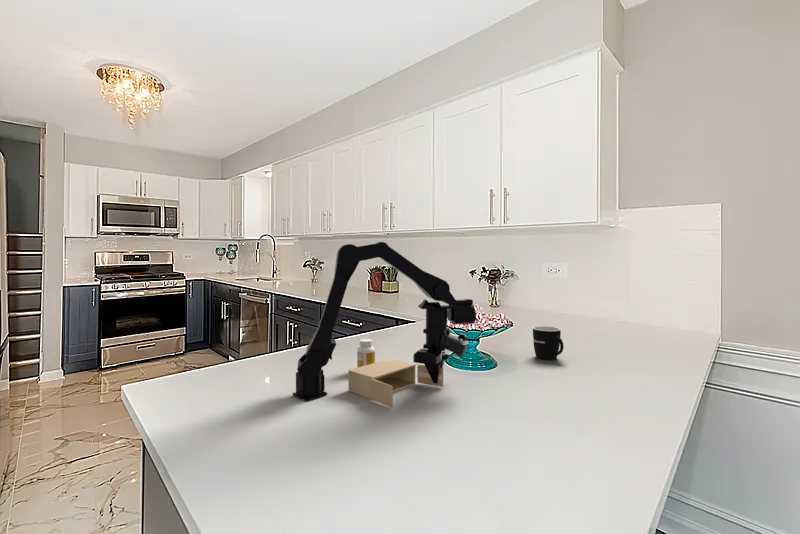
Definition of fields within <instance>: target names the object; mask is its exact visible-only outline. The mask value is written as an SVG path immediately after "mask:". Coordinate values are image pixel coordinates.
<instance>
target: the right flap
mask: <svg viewBox="0 0 800 534" xmlns="http://www.w3.org/2000/svg"><path fill="white" fill-rule="evenodd" d="M416 366H417V367H416V368H417V371H416V373H417V376H416V377H417V383H418V384H422V385H429V386H435V387H441V388H442V387H444V367H443V368H440V371H439V378H438V383H433V381H432V379H431V377H430V374H429V372H428V370H427V368H426V366H425V364H420V363H417V365H416ZM417 383H416V384H417Z"/></svg>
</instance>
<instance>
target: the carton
mask: <svg viewBox="0 0 800 534" xmlns="http://www.w3.org/2000/svg"><path fill="white" fill-rule="evenodd" d="M416 366H417V365H416V363H415V364H414V363H410V362H407V361H403V360H397V359H394V358H388V359H385V360H381V361H376V362H375V363H373V364H369V365H366V366H362V367H358V368H357V367H355V368H351V369H348V370H347V371H348V373H347V374H348V376H347V377H348V378H347V379H348V392H350V393H354V394H357V395H359V396H362V397H365V398H368V399H371V379H375V380H378V381H380V382H383V383H386V384H389V385H391V386H393V393H396V392H399V391H401V390H404V389H407V388H409V387H412V386H415V385H416V384H417V383H416Z"/></svg>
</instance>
